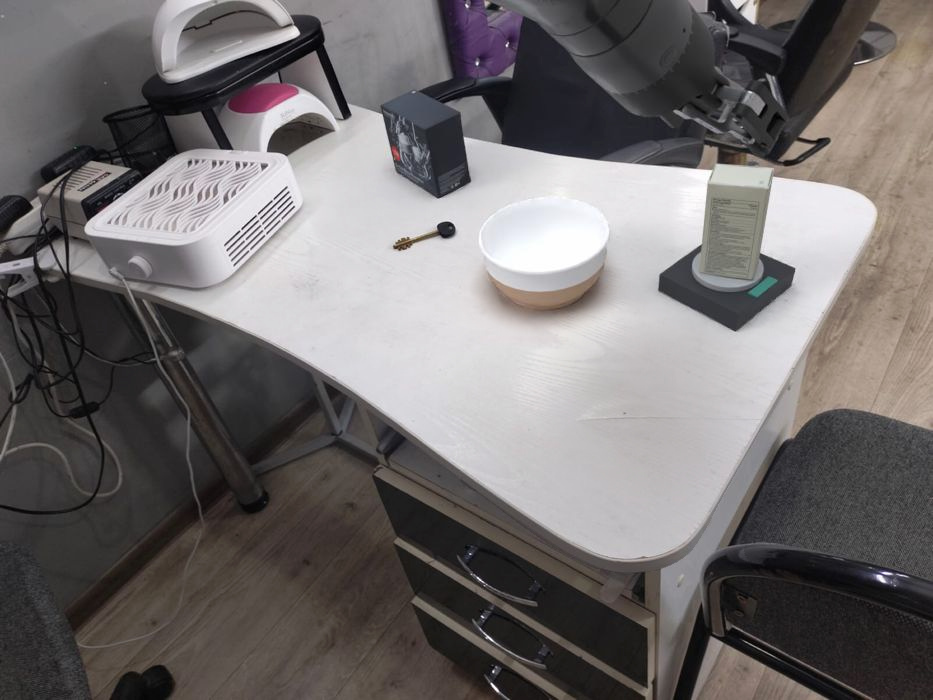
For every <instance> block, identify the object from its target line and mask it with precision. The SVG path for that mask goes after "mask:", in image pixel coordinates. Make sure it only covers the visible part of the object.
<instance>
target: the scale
mask: <svg viewBox="0 0 933 700" xmlns="http://www.w3.org/2000/svg"><path fill="white" fill-rule="evenodd" d="M701 247H702V243H701V244H700V245H699V246H697V247H696V248H694V249H693V250H691V251H690V252H688V253H687V254H686V255H684V256H683V257H681V258H680V259H679V260H677V261H676V262H674V263H673V264H672V265H670V266H669V267H667V268H666V269H665V270H663V271H661V273H659V276H658V288H657V289H658V292H660V293H661V294H664V295H666V296H668V297H670V298H671V299H674V300H675V301H677V302H679V303H680V304H683V305H685V306H687V307H689V308H690V309H693V310H695V311H696V312H698V313H700V314H702V315H705V316H707V317H708V318H710V319H711V320H713V321H715V322H717V323H719V324H720V325H723V326H725V327H727V328H729V329H731V330H732V331H734V332H736V331H737V330H739V329H741V327H743V326H744V325H745V324H746V323H748V322H749V321H750V320H751V319H752V318H753V317H755V316H756V315H757V314H759V313H760V312H761V311H762V310H763V309H765V308H766V307H767V306H769V304H771V303H772V302H773V301H774V300H776V299H777V298H778V297H779V296H781V295H782V294H783V293H784V292H785V291H787V290H788V289H790V287H792V286H793V281H794V277H795V273H796V269H797V268H796V267H794V266H792V265H790V264H787V263H784V262H782V261H781V260H777V259H775V258H773V257H771V256H768V255H767V254H765V253H763V252H760V256H759V262H758V266H757V270H756V273H755V276H754V279H753V280H750V279H741V278H733V277H726V276H719V275H712V274H705V273H700V272H699V269H700V258H701Z"/></svg>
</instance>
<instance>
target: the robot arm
mask: <svg viewBox="0 0 933 700" xmlns="http://www.w3.org/2000/svg"><path fill="white" fill-rule="evenodd" d="M484 1H486V2H488V3H491V4H493V5H496V6H498V7H501V8H502V9H505V10H507V11H510V12H512V13H515V14H517V15H519V16H522V17H525V18H527V19H529V20H531V21H533V22H535V23H537V24H538V25H539V27H541V29H543V30H544V31H545V32H546V33H547V34H548V35H549V36H550V37H551V38H553V39H554V40H555V41H556V42H557V43H558V44H559V45H560V46H562V48H564V49H565V50H566V51H567V53H568V54H569V55H570V56H571V58H572V60H573V61H574V62H575V63H576V65H577V66H578V67H579V68H580V69H581V70H582V71H583V72H584V73H585V74H586V75H587V76H588V77H590V78H591V79H592V81H594V82H595V83H596V84H597V85H598V86H600V87H601V88H602V89H603V90H604V91H605V92H606V93H607V94H609V95H610V96H611V97H612V98H613V99H614V100H615V101H616V102H617V103H618V104H619V105H621V107H623V108H624V109H625V110H626V111H628V112H629V113H631V114H633V115H635V116H639V117H643V118H656V117H658V118H660V119H661V120H662V121H663V122H664V123H665V124H666V125H667V126H668V127H670V128H672V129H675V130H678V129H680V128H681V127H682V125H683V123H684V121H685V120H692V121H695V122H696V123H698V124H699V125H702V126H703V127H705V128H706V129H708V130H709V131H711V132H713V133H715V134H728V133H729V135H732V136H734V137H735V138H736V139H739V140H740V141H741V142H742V143H743V145H744V146H745V147H746V148H747V150H749V151H750V153H752V155H753V156H756V157H759V158H762V159H763V158H764V157H765V156H766V155H769V154H770V153H771V151H772V150H773V147H774V146H775V144H776V143H777V141H778V139H779V137H780V136H779V135H780V134H781V132H782V130H783V128H784V127H785V125H786V124H787V122H788V121H789V118H790V115H789V114H788V113H787V111H786V110H785V108H783V106H782V105H781V104H780V103H779V101H778V100H777V99H776V98H775V96H774V95H773V94H772V92H771V91H770V90H769V89H768V88H767V86H766V85H765V84H764V83H763V82H761V81H760V80H755V79H749V80H748V82H747V84H746V86H745V88H744V87H743V86H742V85H740V84H738V83H737V82H735V81H734V80H732V79H730V78H728V77H727V76H725V75H724V74H723V73H722V69H721V68H720V67H718V66H717V65H715V64H716V63H715V52H716V51H715V42H714V37H713V35H712V32H711V30H710V28H709V27H708V26H707V24H706V22H705V21H704V20H703V19H702V17H701V16H700V15H699V12H697V10H696V9H695V8H694V7H693V5H692V4H691V3H690V1H689V0H484ZM723 104H724V105H725V107H724V110H723V111H722V112H721V114H720V117H718V119H714V118H713V117H711V116H712V115H714V113H715V112H716V111H717V110H718V109H719V108H721V107H722V105H723ZM736 122H737V123H738V124H739V125H740V126H739V125H737V123H736Z"/></svg>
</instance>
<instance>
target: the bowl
mask: <svg viewBox="0 0 933 700" xmlns="http://www.w3.org/2000/svg"><path fill="white" fill-rule="evenodd" d="M610 237H611V226H610V223H609V222H608V220H607V218H606V216H605V215H604V214H603V213H602V212H601V211H600V210H599V209H598V208H596V207H595V206H593V205H592V204H588V203H587V202H584V201H581V200H578V199H574V198H568V197H561V196H541V197H534V198H528V199H523V200H519V201H517V202H513V203H510V204H508V205H507V206H504V207H502V208H500V209H499V210H497V211H495V212H494V213H493V214H491V215H490V216H489V217H488V218H487V219H486V221H485V222H484V223H483V224H482V226H481V228H480V231H479V233H478V238H477V241H478V246H479V250H480V251H481V253H482V254H483V263H484V266H485V269H486V272H487V274H488V275H487V276H488V277H489V279H490V281H491V282H492V283H493V284H494V286H496V287H497V289H498V290H499V291H500V292H501V293H503V294H504V295H506V296H507V297H509V298H510V299H511V300H512V301H513V302H514V303H515V304H518V305H519V306H521V307H524V308H527V309H531V310H541V311H547V310H549V311H550V310H556V309H561V308H564V307H567V306H569V305H572V304H574V303H576V302H577V301H578V300H579V299H581V298H582V296H583V295H585V293H586V291H588V290H589V289H591V288H592V286H593V285H594V284H595V283H596V282H597V280H598V279H599V277H600V276H601V275H602V272H603V270H604V267H605V262H606V259H607V256H608V255H607V254H608V247H607V246H608V242H609V241H610Z"/></svg>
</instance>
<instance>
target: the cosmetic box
mask: <svg viewBox="0 0 933 700" xmlns="http://www.w3.org/2000/svg"><path fill="white" fill-rule="evenodd" d="M774 171H775V168H774V167H766V166H756V165H742V164H725V163H715V164H714V167H713V169H712V170H711V173H710V175H709V178H708V179H707V184H706V185H707V186H706V197H705V206H704V207H705V208H704V216H703V218H704V219H703V229H702V239H701V244H702V247H701V258H700V269H699V272H700V273H705V274H712V275H719V276H726V277H733V278H741V279H750V280H753V279H754V276H755V273H756V270H757V266H758V262H759V256H760V253H761V250H762V243H763V239H764V234H765V233H764V231H765V227H766V226H765V225H766V221H767V215H768V208H769V202H770V197H771V192H772V183H773V178H774Z"/></svg>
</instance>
